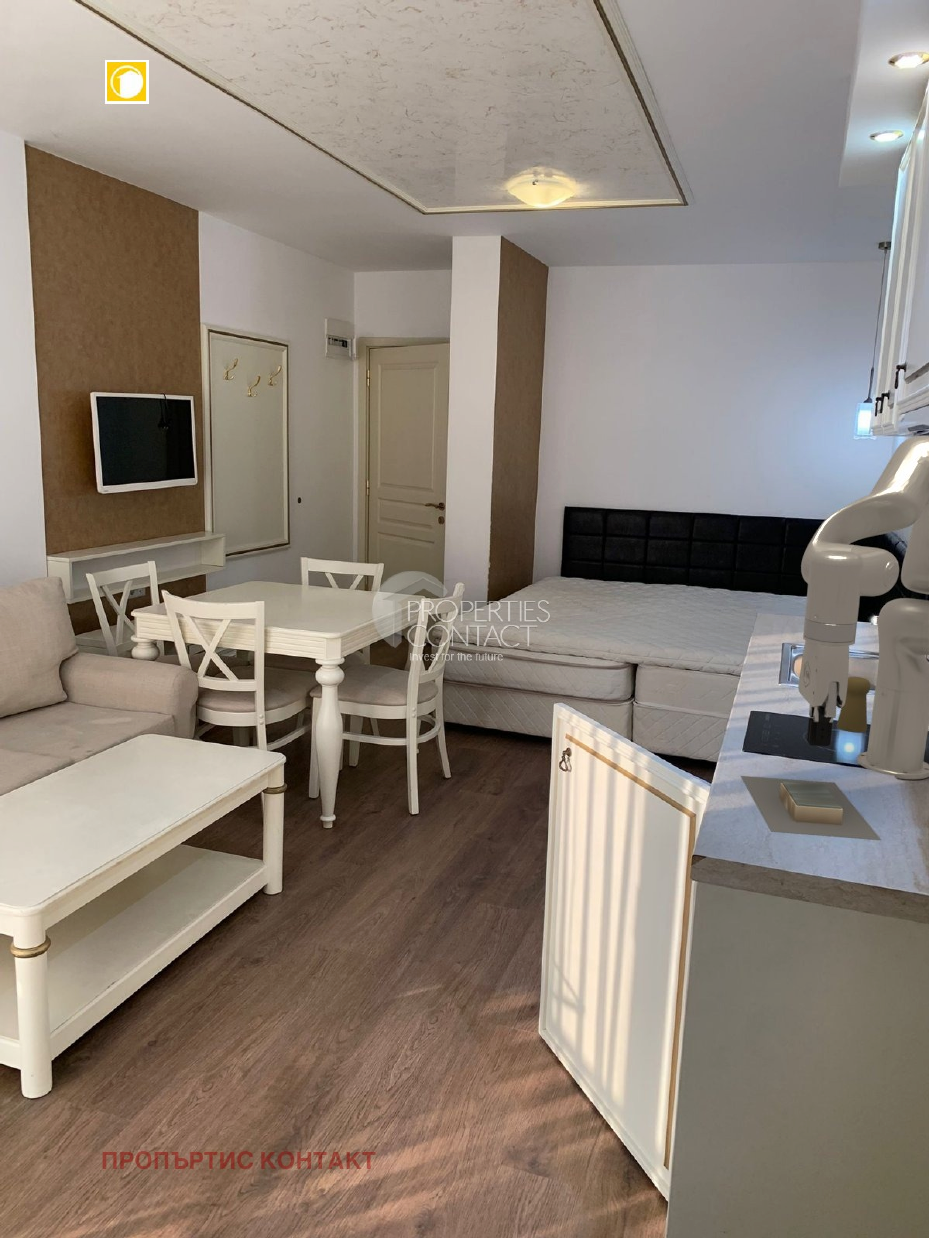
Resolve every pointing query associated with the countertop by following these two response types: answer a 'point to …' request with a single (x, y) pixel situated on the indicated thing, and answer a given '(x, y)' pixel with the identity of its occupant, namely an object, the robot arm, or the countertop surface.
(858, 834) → the mat
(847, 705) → the olive brown pepper mill
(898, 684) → the robot arm
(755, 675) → the countertop surface
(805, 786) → the card box
